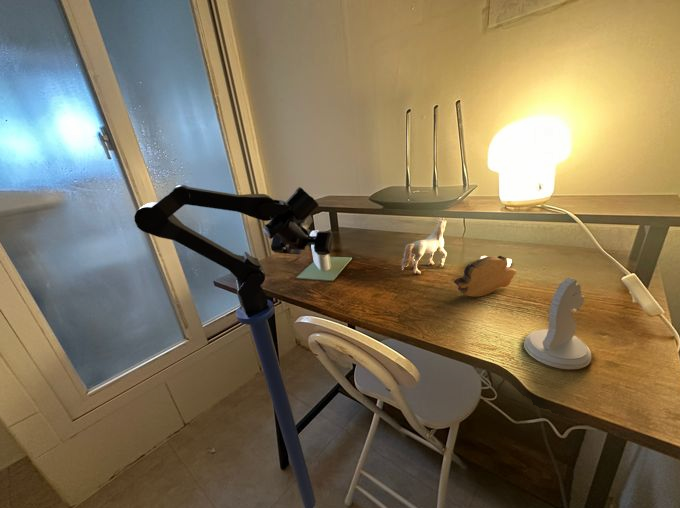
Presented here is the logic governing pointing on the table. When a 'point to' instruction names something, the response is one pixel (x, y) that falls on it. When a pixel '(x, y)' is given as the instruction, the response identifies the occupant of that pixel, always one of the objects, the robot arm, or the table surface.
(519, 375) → the table surface
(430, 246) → the unicorn figurine
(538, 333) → the chess piece
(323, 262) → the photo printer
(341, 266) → the felt mat
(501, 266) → the wooden carving
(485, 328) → the table surface
